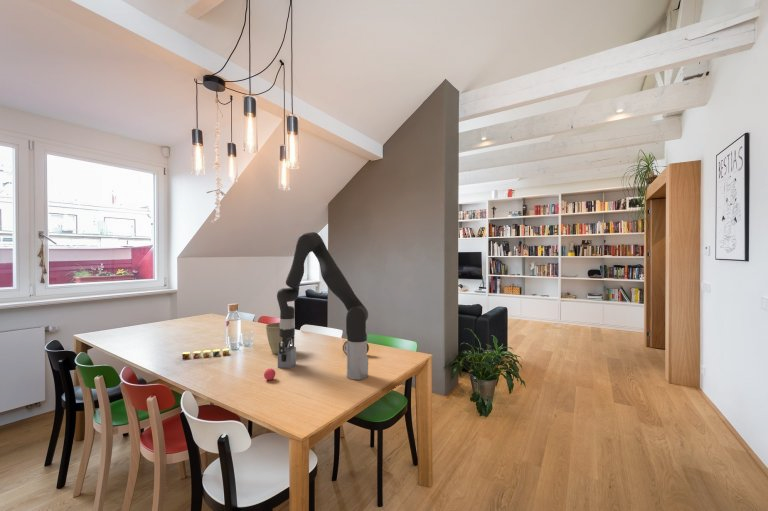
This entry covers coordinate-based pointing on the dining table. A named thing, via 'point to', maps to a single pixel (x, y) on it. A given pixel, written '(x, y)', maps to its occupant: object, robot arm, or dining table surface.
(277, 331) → the plant pot
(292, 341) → the robot arm
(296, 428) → the dining table surface
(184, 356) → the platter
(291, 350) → the matte grey cube
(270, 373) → the ball
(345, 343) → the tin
